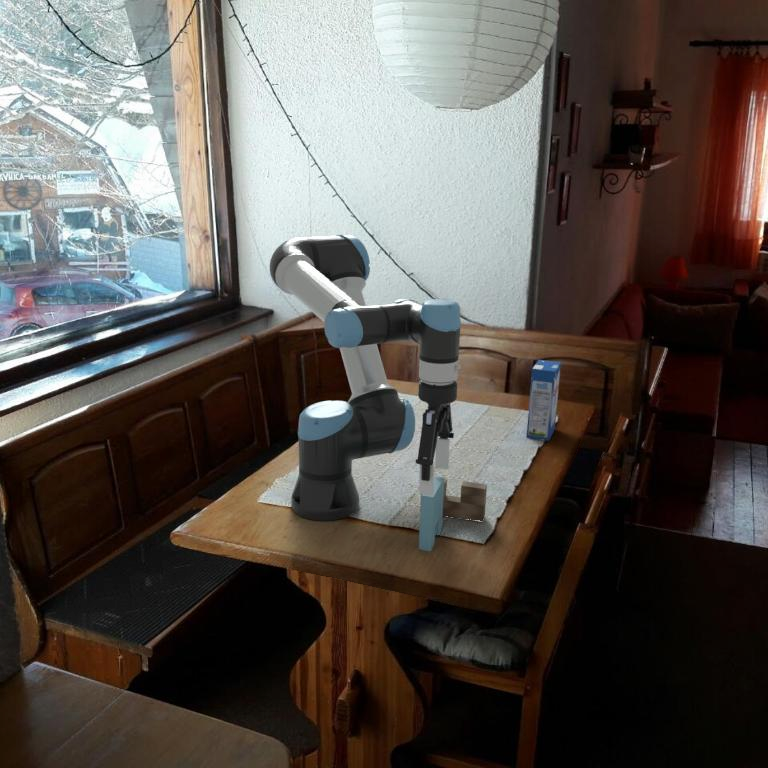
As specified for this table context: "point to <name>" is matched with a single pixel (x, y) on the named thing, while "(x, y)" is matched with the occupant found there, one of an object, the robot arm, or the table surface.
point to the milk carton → (543, 399)
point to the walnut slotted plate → (466, 502)
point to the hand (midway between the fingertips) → (434, 480)
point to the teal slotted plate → (431, 515)
